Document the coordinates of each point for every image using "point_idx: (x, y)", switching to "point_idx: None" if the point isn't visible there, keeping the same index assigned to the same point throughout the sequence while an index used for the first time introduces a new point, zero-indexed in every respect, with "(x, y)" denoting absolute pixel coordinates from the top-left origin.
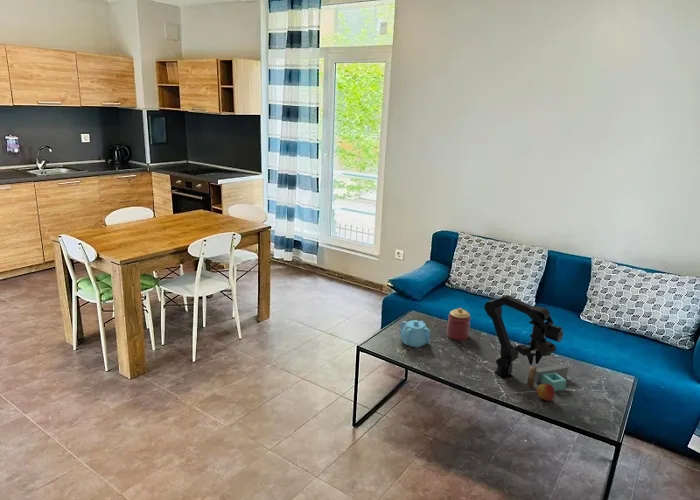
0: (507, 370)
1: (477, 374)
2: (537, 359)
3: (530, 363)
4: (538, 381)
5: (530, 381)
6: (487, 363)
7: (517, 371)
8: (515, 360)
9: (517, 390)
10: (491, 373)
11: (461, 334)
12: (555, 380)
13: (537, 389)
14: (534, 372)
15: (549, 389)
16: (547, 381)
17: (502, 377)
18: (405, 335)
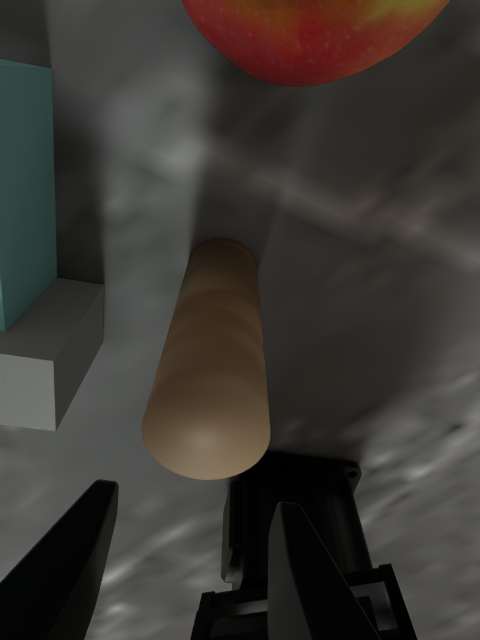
0: (316, 519)
1: (475, 554)
2: (71, 623)
3: (312, 547)
4: (75, 289)
5: (254, 286)
6: None
7: (135, 482)
8: (254, 631)
9: (419, 270)
10: (367, 530)
11: None
12: None
13: (434, 17)
14: (221, 343)
15: None
16: (14, 186)
17: (358, 468)
18: None
